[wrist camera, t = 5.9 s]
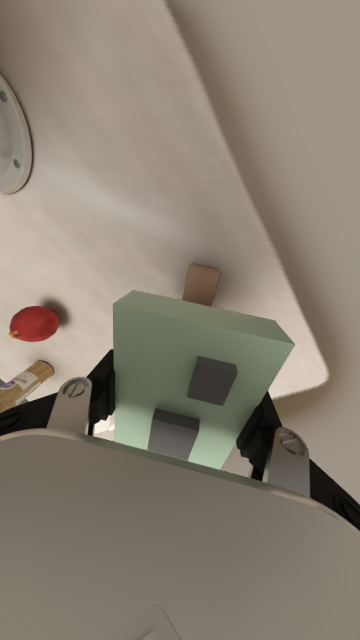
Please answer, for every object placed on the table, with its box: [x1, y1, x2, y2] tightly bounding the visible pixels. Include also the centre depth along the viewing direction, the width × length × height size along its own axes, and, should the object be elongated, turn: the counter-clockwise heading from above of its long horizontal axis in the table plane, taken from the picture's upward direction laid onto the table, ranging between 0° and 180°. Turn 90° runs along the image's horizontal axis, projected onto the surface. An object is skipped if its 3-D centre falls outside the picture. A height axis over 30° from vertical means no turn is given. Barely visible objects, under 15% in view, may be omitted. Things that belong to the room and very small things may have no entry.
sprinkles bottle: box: [0, 361, 53, 413], centre depth 32 cm, size 5×5×14 cm
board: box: [113, 290, 295, 470], centre depth 9 cm, size 10×7×3 cm
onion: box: [9, 306, 59, 342], centre depth 27 cm, size 6×6×8 cm
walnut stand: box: [182, 264, 220, 307], centre depth 24 cm, size 8×4×3 cm, turn 170°
